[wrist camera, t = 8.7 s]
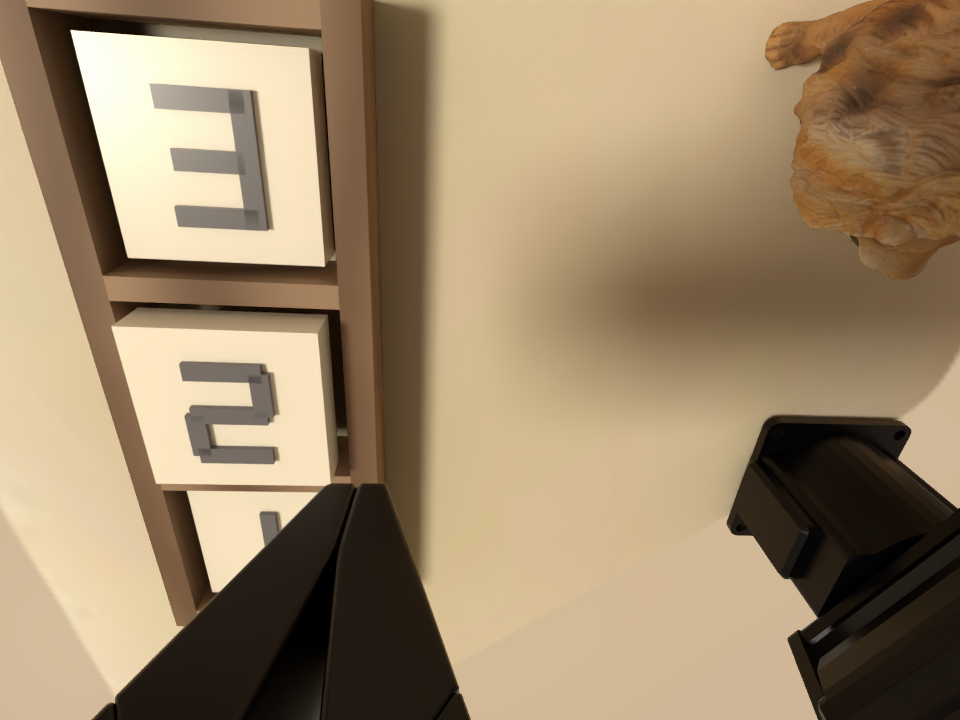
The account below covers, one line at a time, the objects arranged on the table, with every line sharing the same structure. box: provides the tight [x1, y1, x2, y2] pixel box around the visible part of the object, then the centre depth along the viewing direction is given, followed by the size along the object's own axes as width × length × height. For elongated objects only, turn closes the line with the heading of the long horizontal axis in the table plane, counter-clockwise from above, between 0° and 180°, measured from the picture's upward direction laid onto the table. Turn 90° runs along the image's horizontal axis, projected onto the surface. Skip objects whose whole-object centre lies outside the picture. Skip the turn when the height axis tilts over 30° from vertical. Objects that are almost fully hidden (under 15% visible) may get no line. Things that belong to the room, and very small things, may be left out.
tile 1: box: [187, 491, 318, 592], centre depth 23 cm, size 6×6×2 cm
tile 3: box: [70, 30, 334, 267], centre depth 16 cm, size 6×6×2 cm
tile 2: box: [111, 307, 339, 486], centre depth 18 cm, size 6×6×2 cm
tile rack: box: [0, 0, 386, 626], centre depth 19 cm, size 9×24×2 cm, turn 176°
